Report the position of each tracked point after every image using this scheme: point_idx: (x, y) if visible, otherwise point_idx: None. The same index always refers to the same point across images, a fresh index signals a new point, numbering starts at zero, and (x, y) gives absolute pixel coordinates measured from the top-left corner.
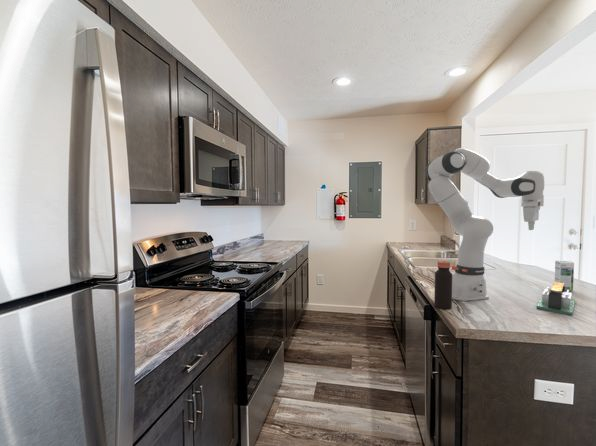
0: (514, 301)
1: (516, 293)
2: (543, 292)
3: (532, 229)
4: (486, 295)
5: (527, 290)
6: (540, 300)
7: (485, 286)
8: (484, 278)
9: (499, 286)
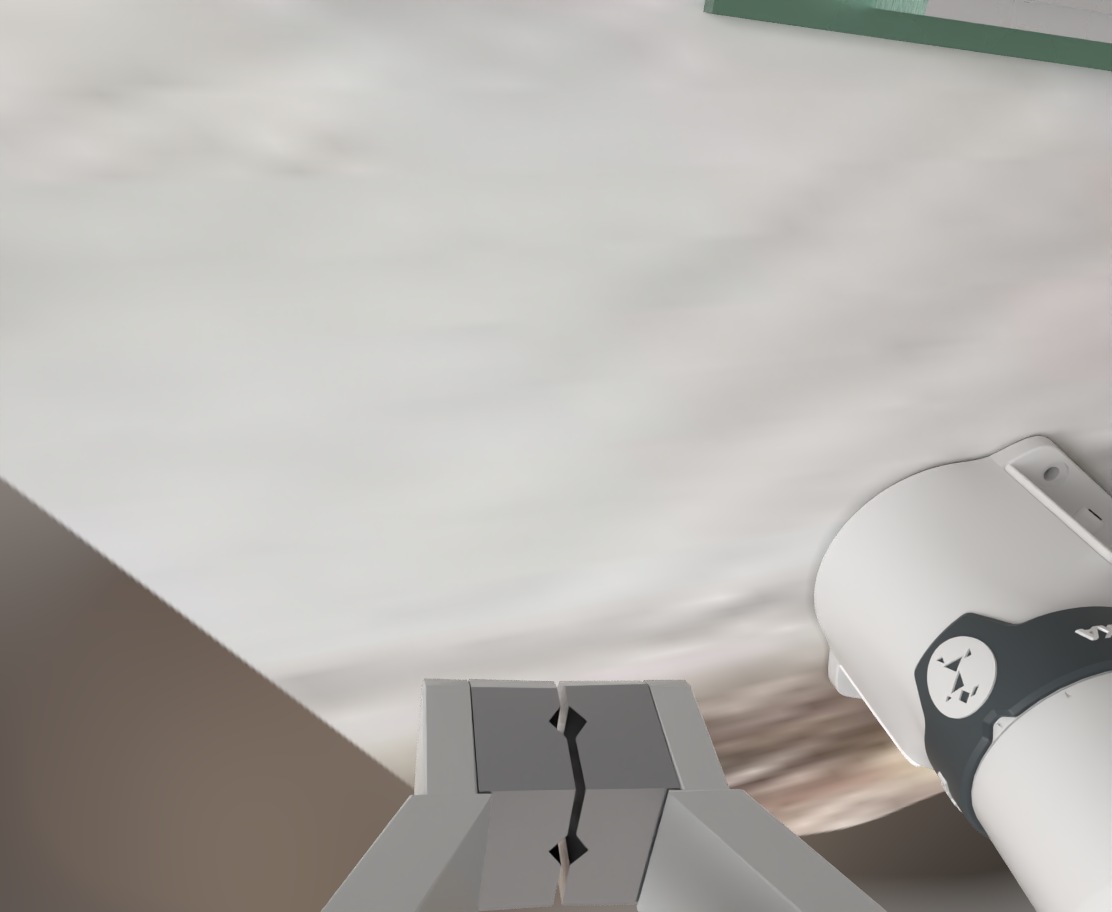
0: (1037, 258)
1: (734, 262)
2: (1108, 37)
3: (689, 697)
4: (1030, 462)
5: (529, 171)
6: (1023, 52)
7: (1069, 515)
8: (1086, 571)
9: (529, 422)
